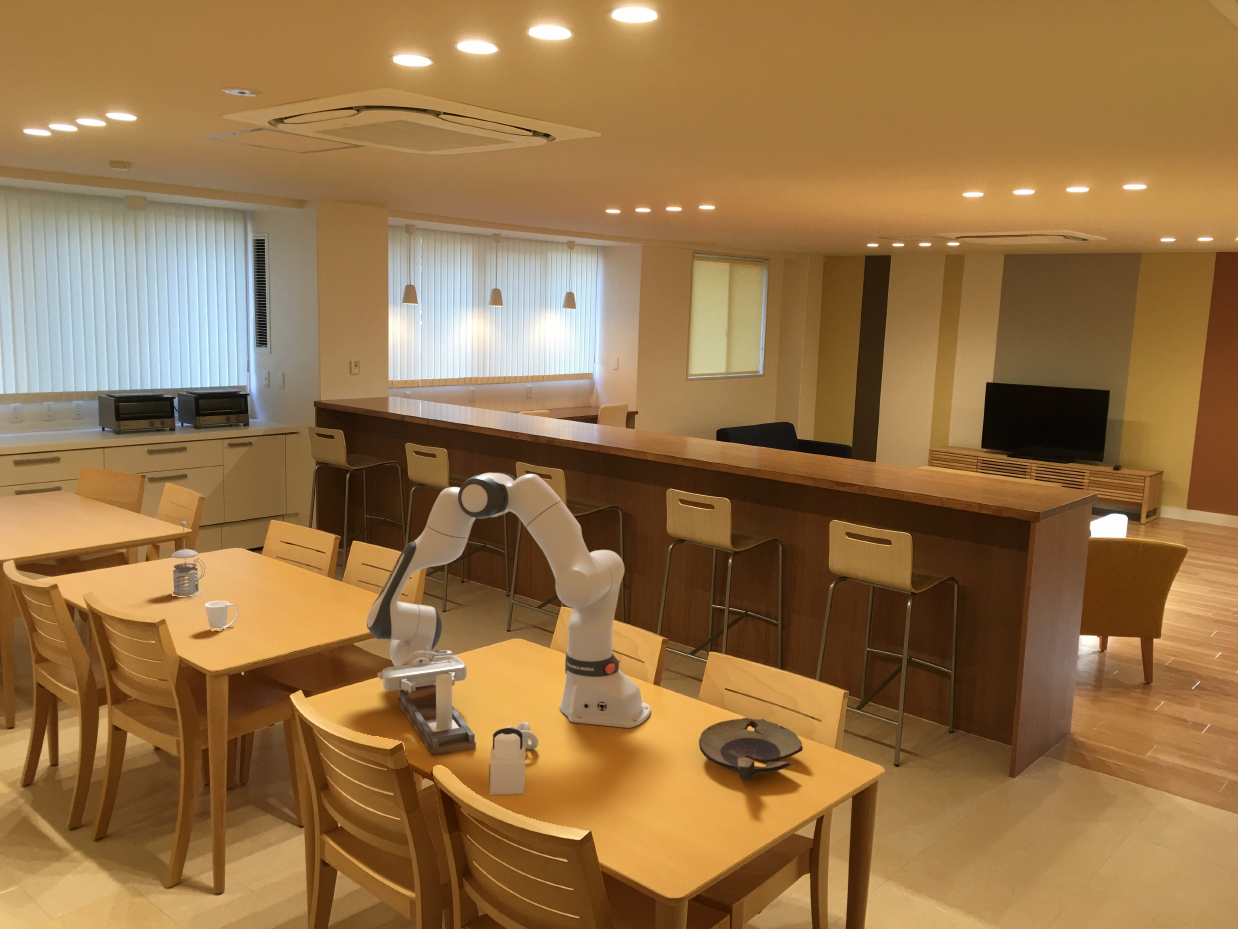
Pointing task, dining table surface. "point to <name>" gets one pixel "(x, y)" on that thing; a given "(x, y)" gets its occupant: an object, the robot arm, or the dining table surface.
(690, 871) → the dining table surface
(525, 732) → the knot
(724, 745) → the dark grey shallow dish
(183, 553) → the french press
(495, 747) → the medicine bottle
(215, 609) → the cup
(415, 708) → the slot track
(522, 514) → the robot arm
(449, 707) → the post
